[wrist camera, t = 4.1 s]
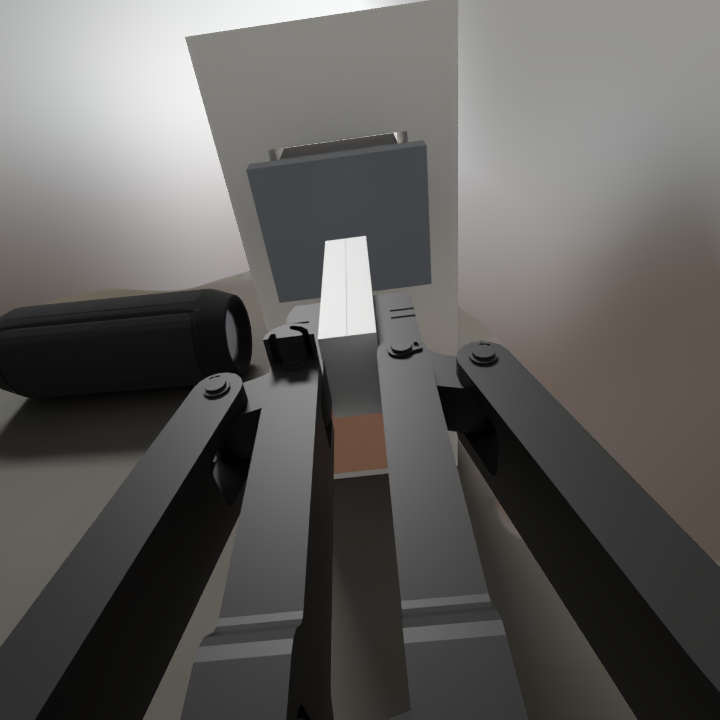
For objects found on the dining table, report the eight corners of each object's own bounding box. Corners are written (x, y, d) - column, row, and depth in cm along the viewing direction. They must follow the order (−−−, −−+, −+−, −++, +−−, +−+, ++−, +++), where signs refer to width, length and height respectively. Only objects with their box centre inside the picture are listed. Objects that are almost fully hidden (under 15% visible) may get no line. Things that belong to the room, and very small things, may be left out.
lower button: (322, 475, 31) (304, 402, 27) (325, 404, 37) (310, 336, 33) (437, 462, 31) (435, 387, 27) (422, 393, 37) (418, 323, 33)
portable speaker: (260, 347, 56) (237, 269, 50) (241, 402, 48) (211, 318, 42) (59, 364, 58) (15, 292, 52) (8, 420, 50) (-51, 342, 44)
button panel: (309, 481, 38) (185, 37, 21) (312, 429, 43) (214, 33, 26) (457, 465, 38) (458, -4, 20) (444, 414, 43) (435, 0, 25)
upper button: (279, 302, 24) (245, 169, 20) (291, 247, 29) (266, 136, 26) (431, 284, 23) (426, 145, 20) (413, 232, 29) (407, 116, 25)
